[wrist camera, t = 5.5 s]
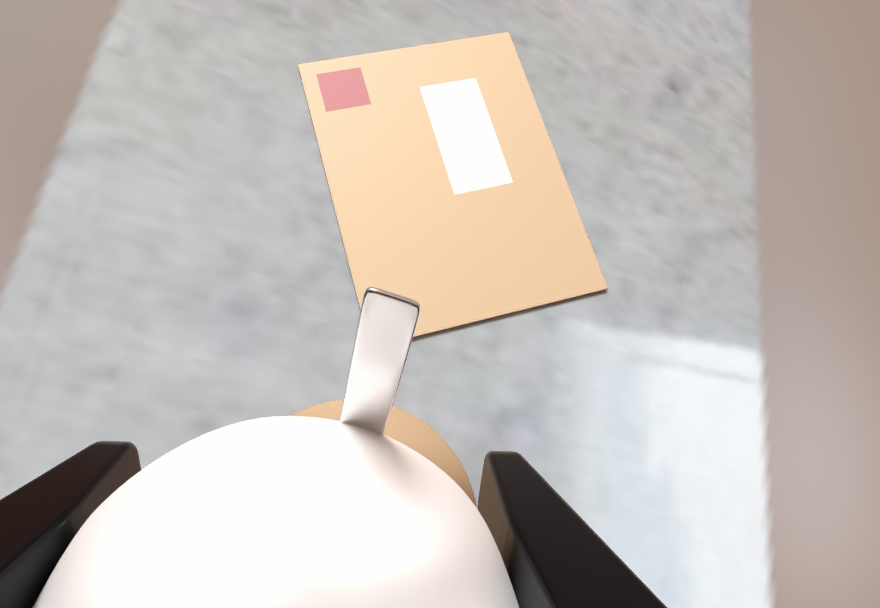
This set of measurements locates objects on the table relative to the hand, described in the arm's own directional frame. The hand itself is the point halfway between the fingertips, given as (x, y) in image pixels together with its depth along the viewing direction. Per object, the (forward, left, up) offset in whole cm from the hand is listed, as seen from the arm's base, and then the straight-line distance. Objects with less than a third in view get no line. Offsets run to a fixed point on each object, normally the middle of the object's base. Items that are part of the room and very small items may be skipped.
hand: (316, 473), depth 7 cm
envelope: (+10, -6, -12) cm, 17 cm away
